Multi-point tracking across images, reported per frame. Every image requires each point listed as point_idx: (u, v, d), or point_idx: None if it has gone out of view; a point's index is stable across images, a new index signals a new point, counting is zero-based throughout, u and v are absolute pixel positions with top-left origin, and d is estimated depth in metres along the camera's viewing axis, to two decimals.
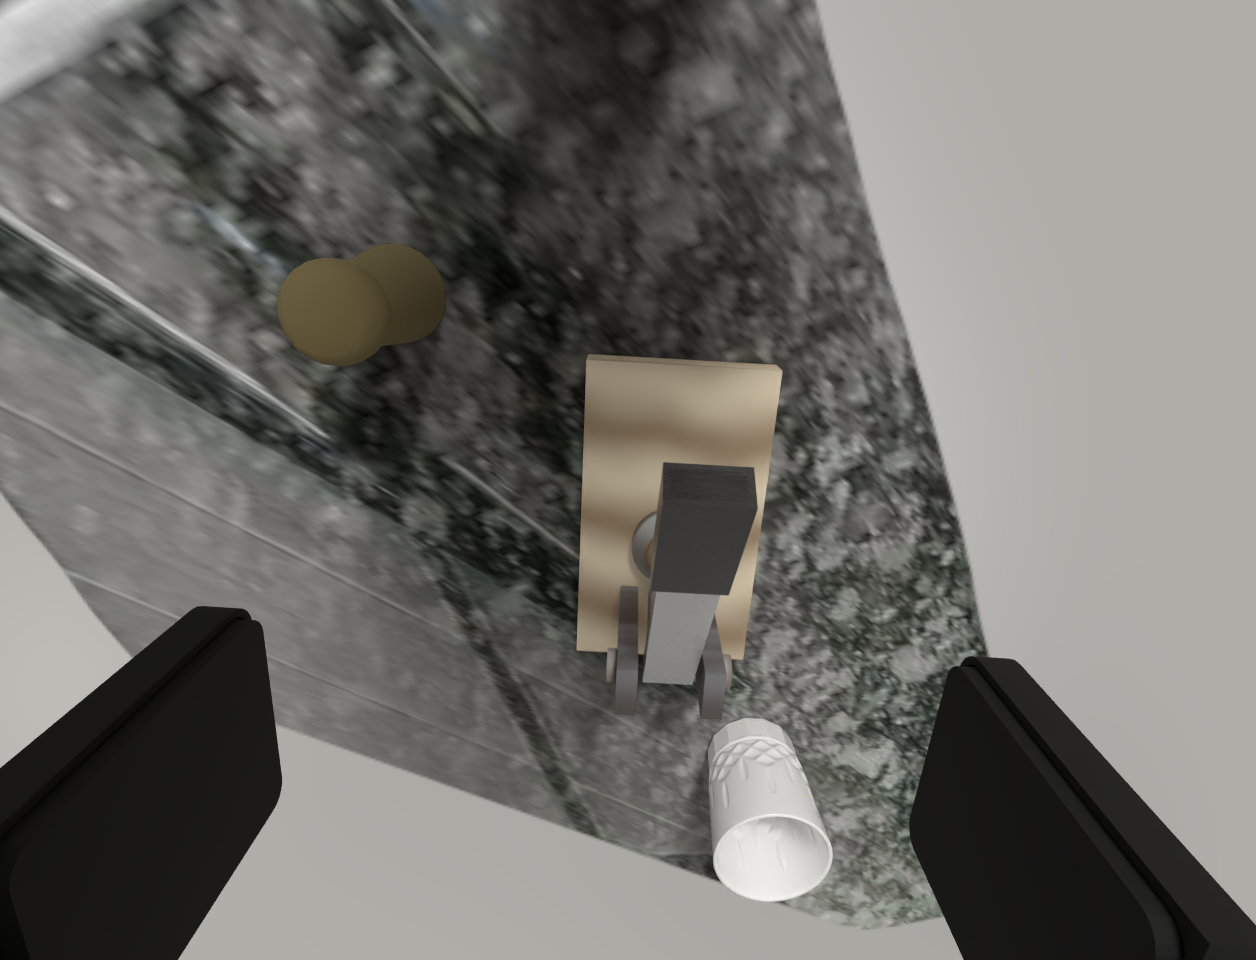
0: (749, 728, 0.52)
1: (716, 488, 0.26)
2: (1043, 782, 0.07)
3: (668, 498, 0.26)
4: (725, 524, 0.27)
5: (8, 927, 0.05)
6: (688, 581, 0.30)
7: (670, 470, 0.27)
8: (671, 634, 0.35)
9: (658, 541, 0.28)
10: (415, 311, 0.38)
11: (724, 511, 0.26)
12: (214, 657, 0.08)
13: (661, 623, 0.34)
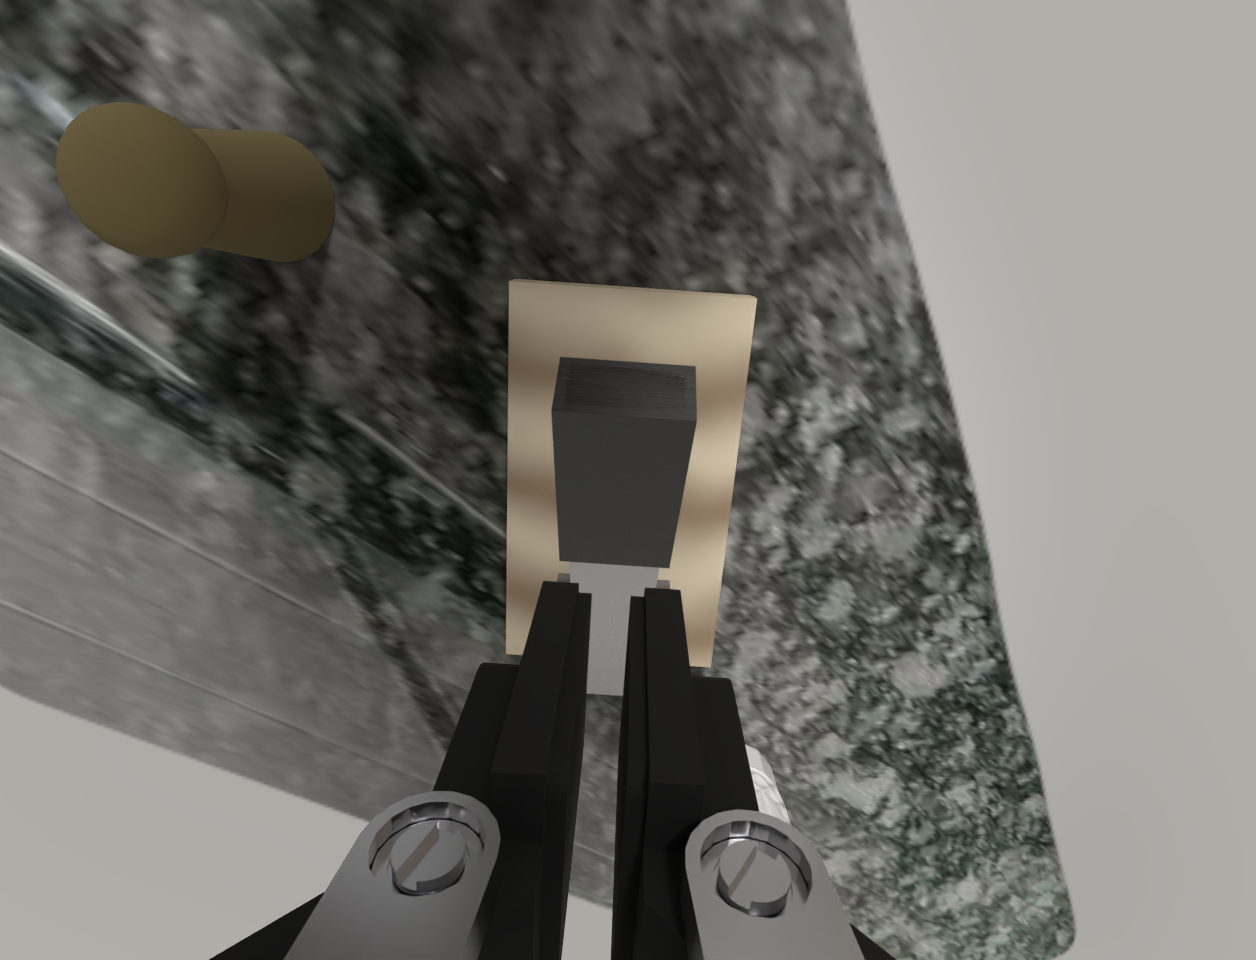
0: None
1: (635, 391, 0.17)
2: (630, 678, 0.08)
3: (561, 404, 0.17)
4: (651, 449, 0.18)
5: (556, 829, 0.07)
6: (610, 546, 0.21)
7: (570, 368, 0.18)
8: (600, 627, 0.26)
9: (556, 479, 0.19)
10: (279, 205, 0.30)
11: (647, 425, 0.17)
12: (588, 622, 0.09)
13: None
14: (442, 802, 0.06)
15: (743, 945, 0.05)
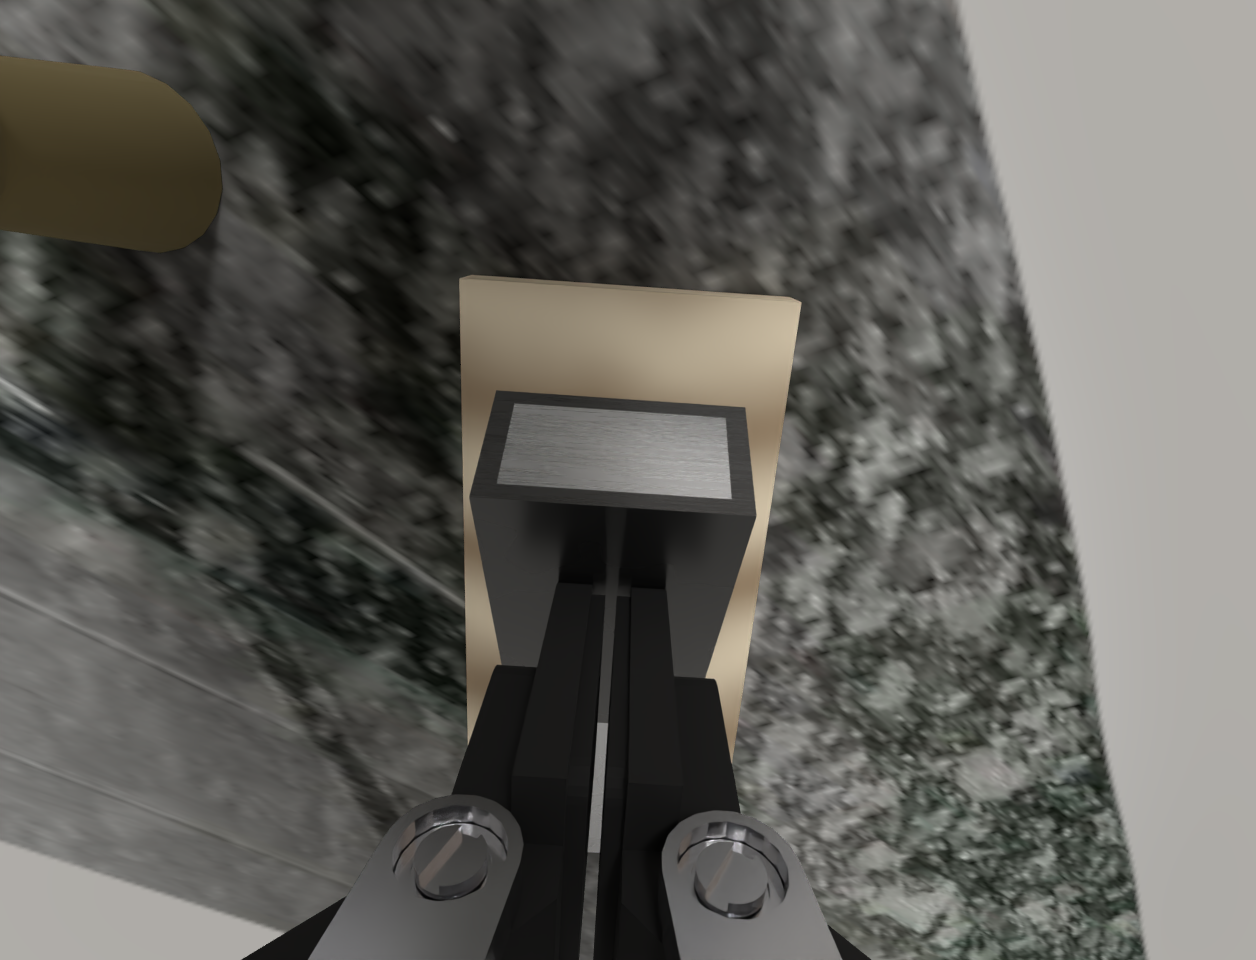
0: None
1: (636, 457, 0.09)
2: (612, 679, 0.08)
3: (490, 483, 0.09)
4: (664, 563, 0.09)
5: (576, 832, 0.07)
6: None
7: (514, 411, 0.10)
8: None
9: (493, 608, 0.10)
10: (120, 171, 0.20)
11: (657, 524, 0.09)
12: (603, 624, 0.09)
13: None
14: (463, 806, 0.06)
15: (721, 948, 0.05)
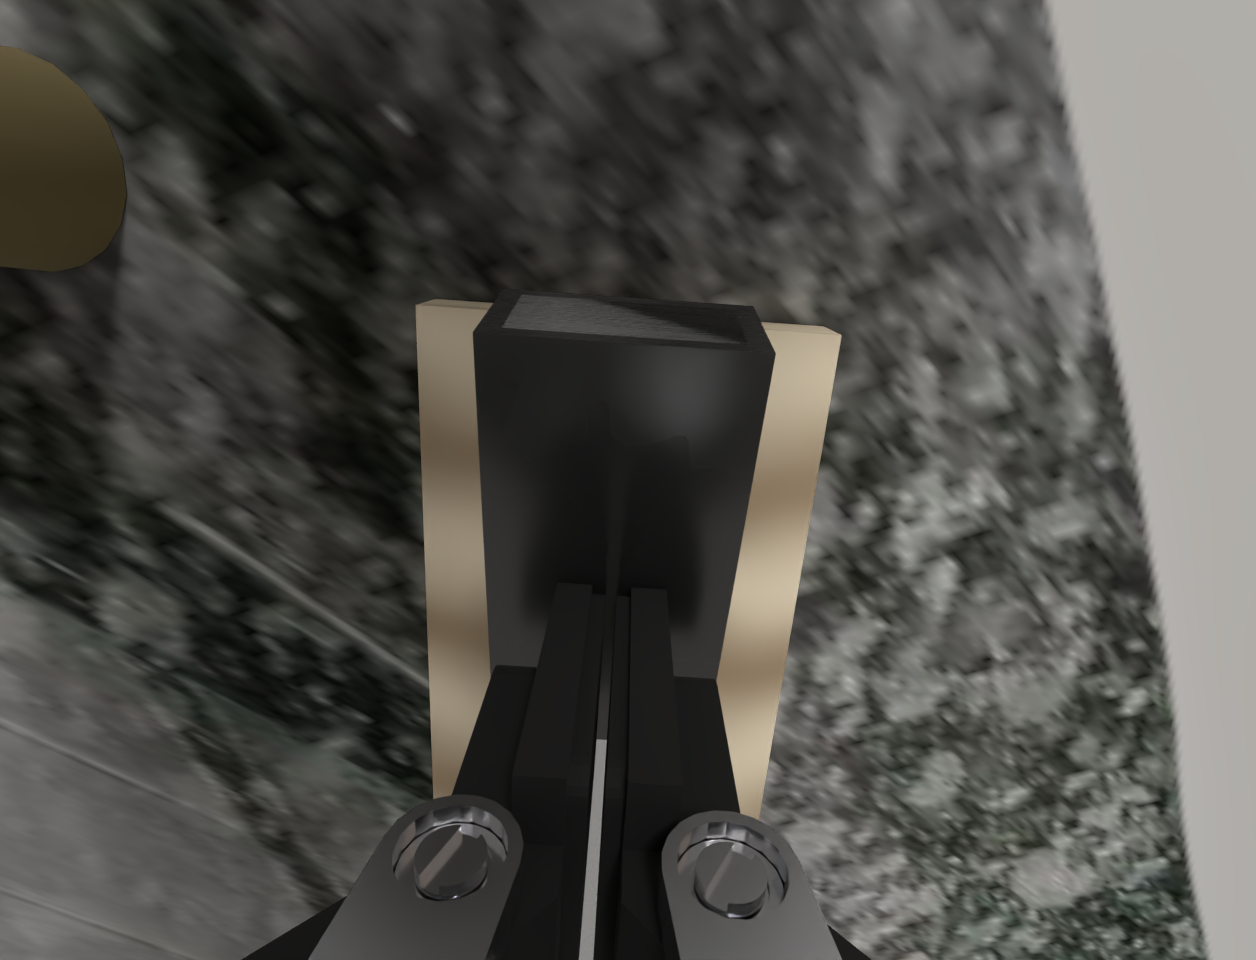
0: None
1: (645, 322, 0.09)
2: (613, 679, 0.08)
3: (495, 327, 0.08)
4: (678, 436, 0.09)
5: (576, 832, 0.07)
6: None
7: (519, 301, 0.10)
8: None
9: (485, 522, 0.09)
10: None
11: (671, 369, 0.08)
12: (603, 624, 0.09)
13: None
14: (463, 806, 0.06)
15: (720, 948, 0.05)
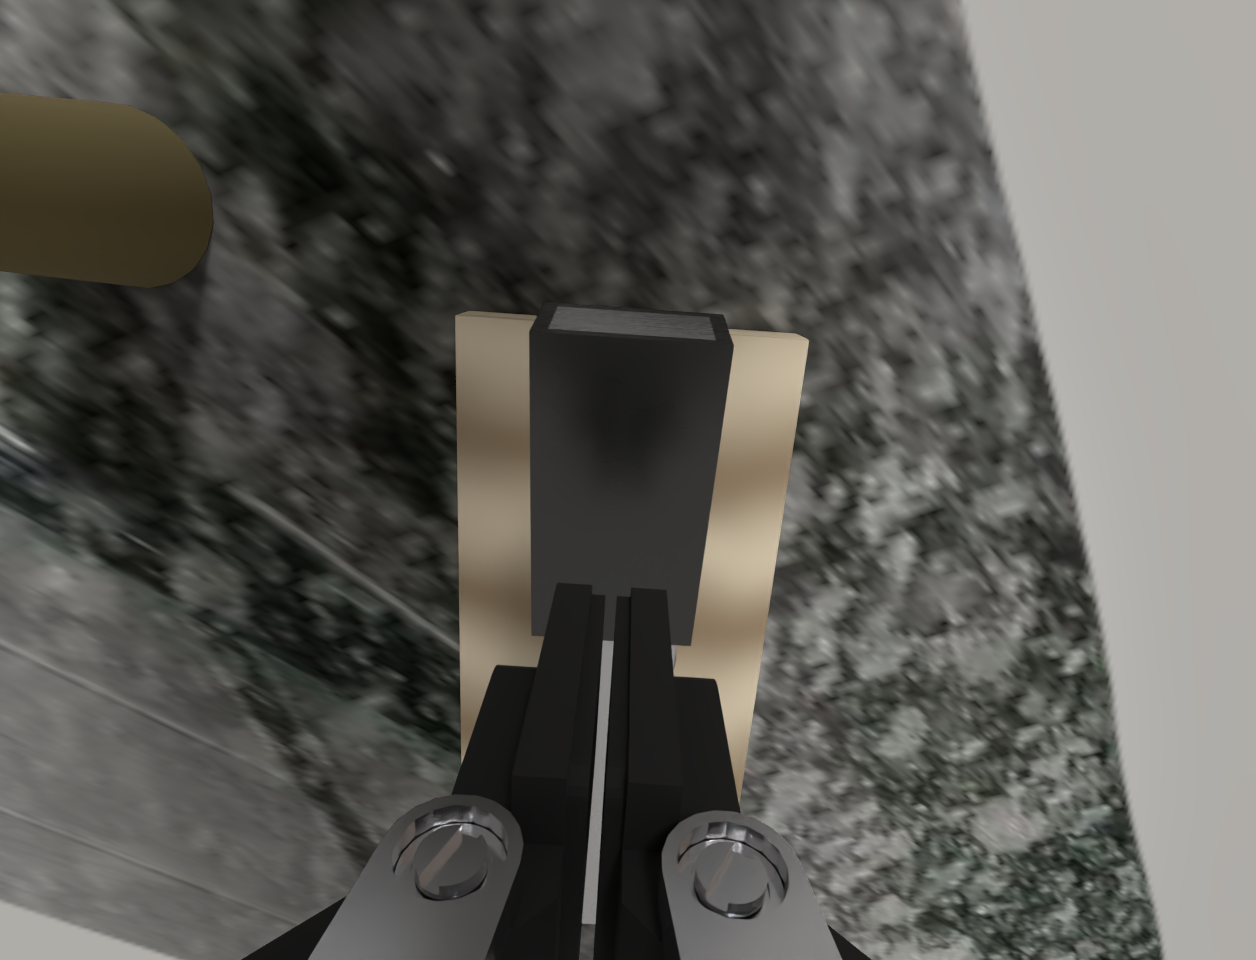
0: None
1: (646, 325, 0.13)
2: (613, 679, 0.08)
3: (543, 328, 0.12)
4: (668, 403, 0.12)
5: (576, 832, 0.07)
6: (606, 603, 0.15)
7: (556, 311, 0.13)
8: None
9: (532, 467, 0.13)
10: (104, 207, 0.20)
11: (663, 356, 0.12)
12: (603, 624, 0.09)
13: None
14: (463, 805, 0.06)
15: (720, 948, 0.05)
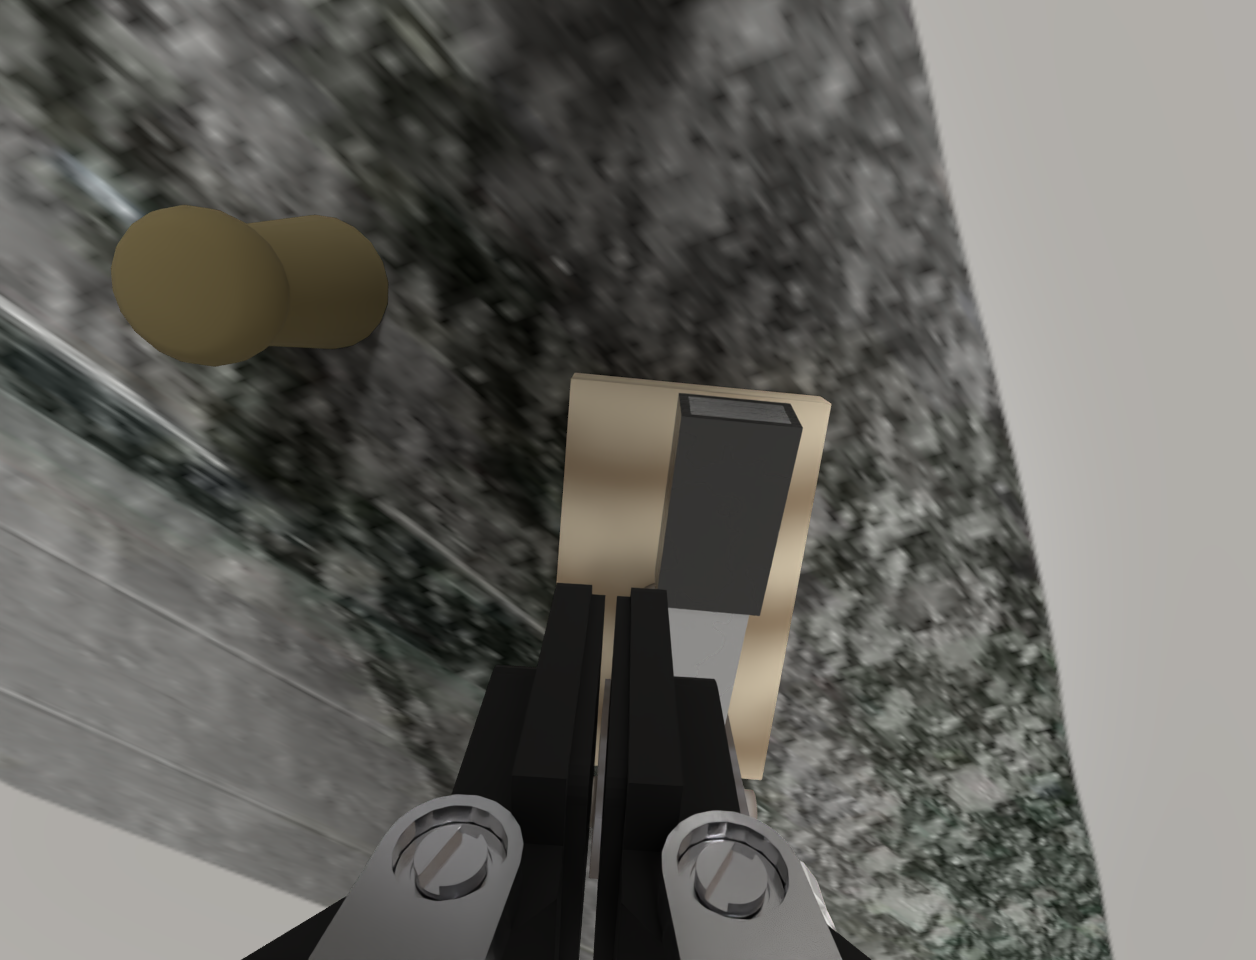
0: None
1: (746, 411, 0.21)
2: (612, 679, 0.08)
3: (688, 414, 0.20)
4: (760, 460, 0.21)
5: (576, 832, 0.07)
6: (707, 585, 0.23)
7: (688, 399, 0.21)
8: None
9: (671, 496, 0.21)
10: (337, 300, 0.28)
11: (760, 433, 0.20)
12: (603, 624, 0.09)
13: None
14: (463, 805, 0.06)
15: (720, 948, 0.05)
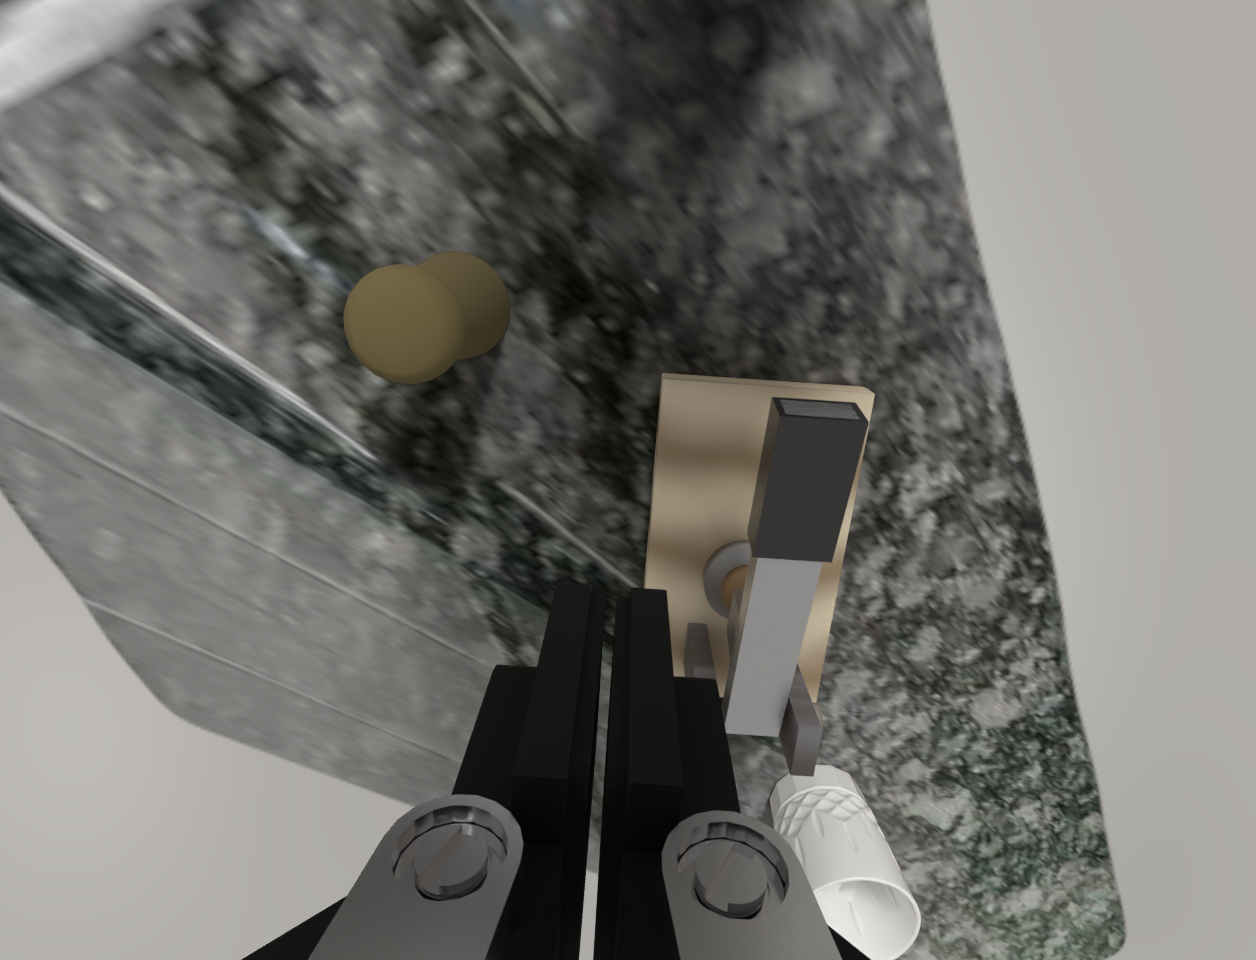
0: (817, 776, 0.48)
1: (825, 410, 0.28)
2: (612, 679, 0.08)
3: (784, 414, 0.27)
4: (836, 446, 0.28)
5: (576, 832, 0.07)
6: (793, 540, 0.30)
7: (779, 401, 0.29)
8: (764, 639, 0.33)
9: (769, 474, 0.29)
10: (483, 324, 0.35)
11: (837, 426, 0.27)
12: (603, 624, 0.09)
13: (756, 619, 0.33)
14: (463, 806, 0.06)
15: (720, 948, 0.05)
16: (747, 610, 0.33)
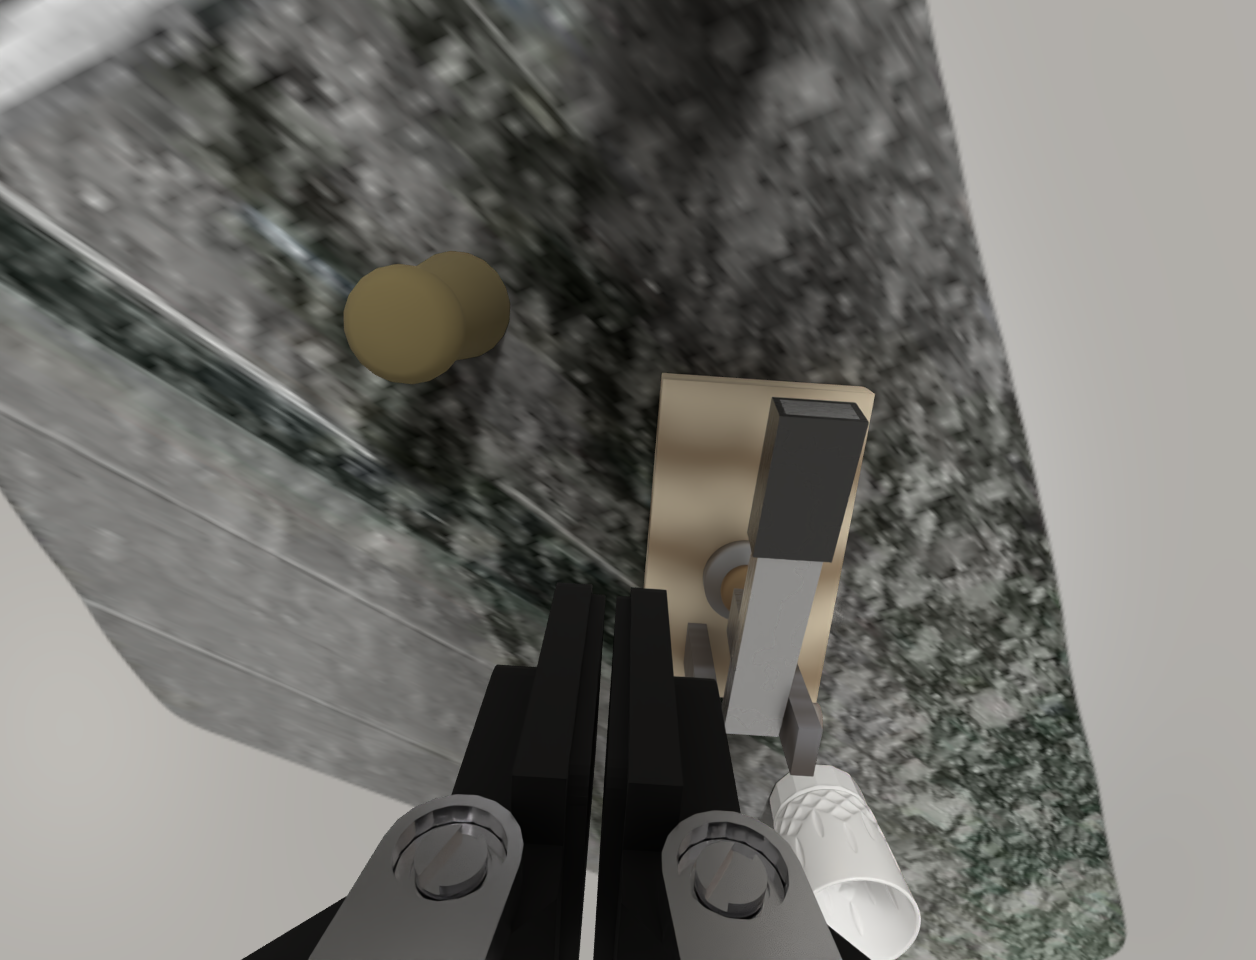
0: (817, 776, 0.48)
1: (825, 410, 0.28)
2: (612, 679, 0.08)
3: (784, 414, 0.27)
4: (836, 446, 0.28)
5: (576, 832, 0.07)
6: (793, 540, 0.30)
7: (779, 401, 0.29)
8: (764, 639, 0.33)
9: (769, 474, 0.29)
10: (483, 324, 0.35)
11: (837, 426, 0.27)
12: (603, 624, 0.09)
13: (756, 619, 0.33)
14: (463, 806, 0.06)
15: (720, 948, 0.05)
16: (747, 610, 0.33)
